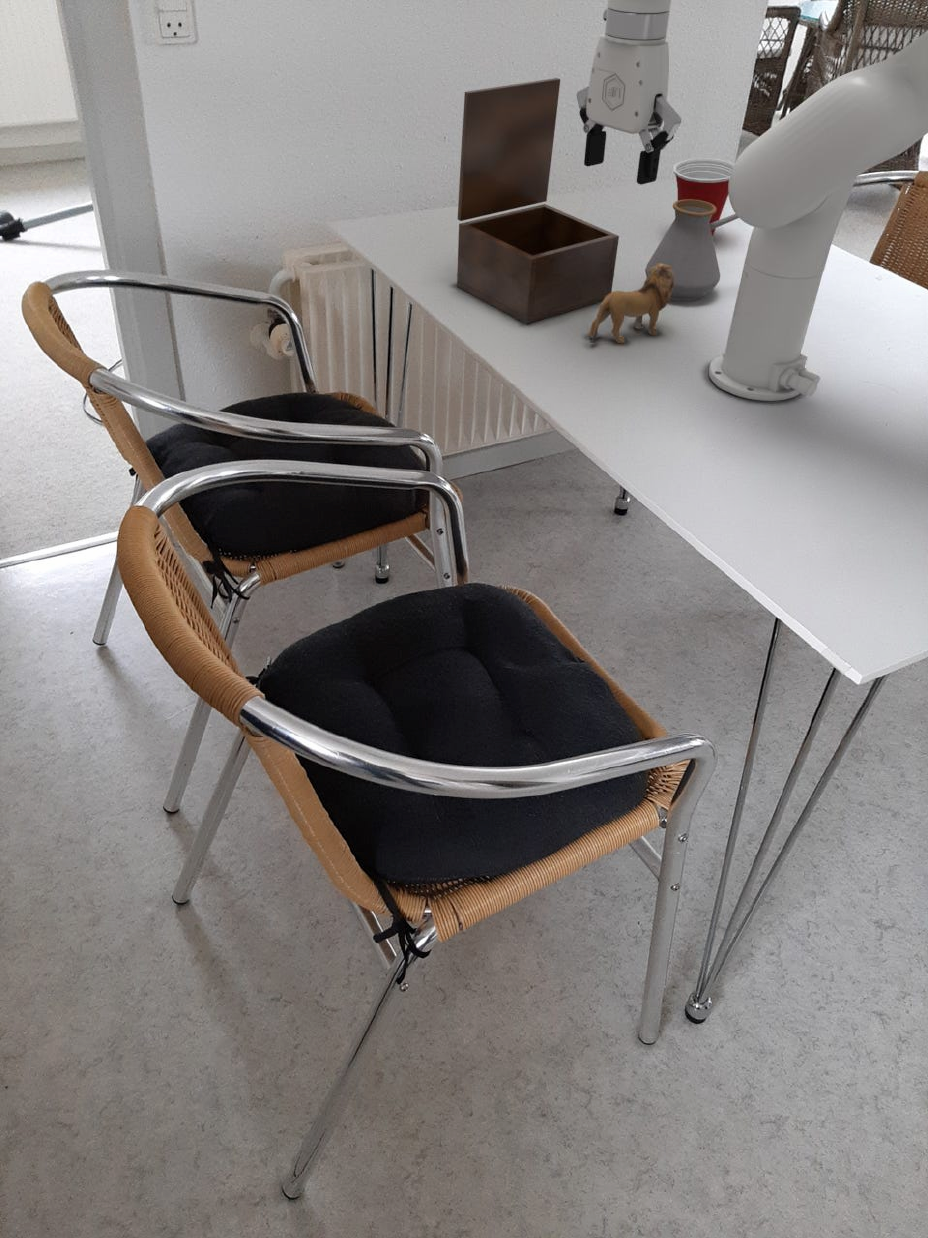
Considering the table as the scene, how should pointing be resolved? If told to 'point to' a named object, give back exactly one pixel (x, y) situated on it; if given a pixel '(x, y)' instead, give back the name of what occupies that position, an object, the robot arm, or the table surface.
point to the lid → (506, 147)
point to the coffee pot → (690, 249)
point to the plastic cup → (704, 182)
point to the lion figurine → (637, 302)
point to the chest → (536, 262)
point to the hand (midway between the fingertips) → (619, 173)
